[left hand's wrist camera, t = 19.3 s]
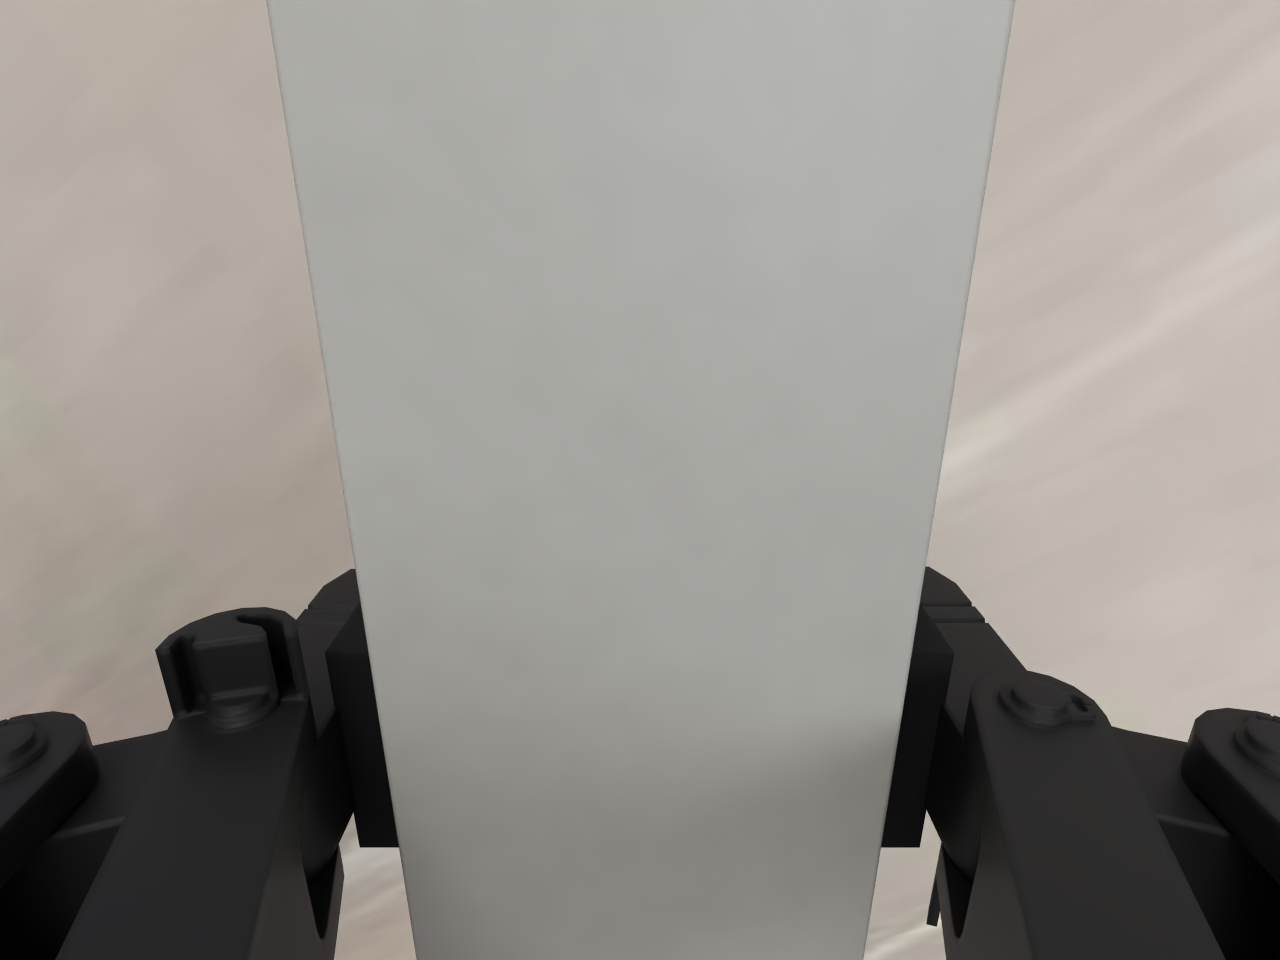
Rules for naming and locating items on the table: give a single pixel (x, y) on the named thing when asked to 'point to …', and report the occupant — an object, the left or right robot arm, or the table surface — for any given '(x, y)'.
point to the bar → (640, 439)
